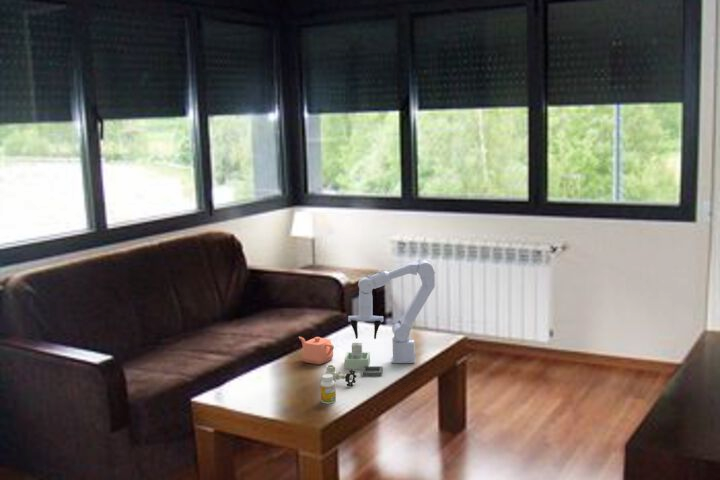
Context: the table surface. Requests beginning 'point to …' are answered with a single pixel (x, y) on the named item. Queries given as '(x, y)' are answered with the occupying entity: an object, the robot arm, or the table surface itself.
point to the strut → (357, 351)
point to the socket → (372, 368)
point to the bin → (357, 361)
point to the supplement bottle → (328, 389)
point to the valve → (341, 375)
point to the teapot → (317, 350)
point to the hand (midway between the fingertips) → (365, 338)
